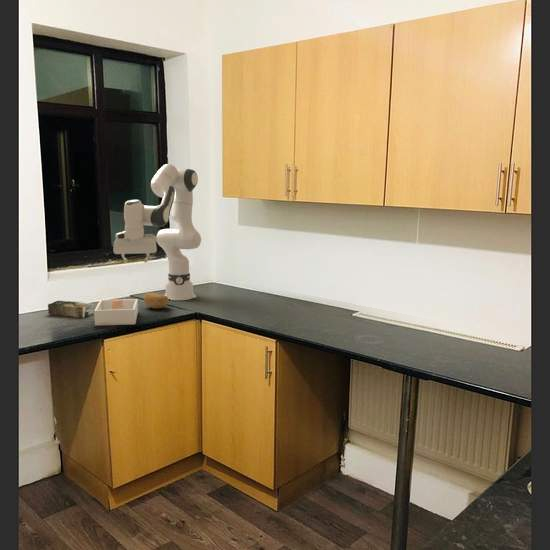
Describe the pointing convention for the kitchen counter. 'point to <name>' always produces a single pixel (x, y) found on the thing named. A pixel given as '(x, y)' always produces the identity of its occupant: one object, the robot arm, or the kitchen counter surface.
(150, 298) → the potato
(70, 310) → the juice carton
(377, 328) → the kitchen counter surface
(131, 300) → the bin
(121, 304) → the wooden block
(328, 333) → the kitchen counter surface
